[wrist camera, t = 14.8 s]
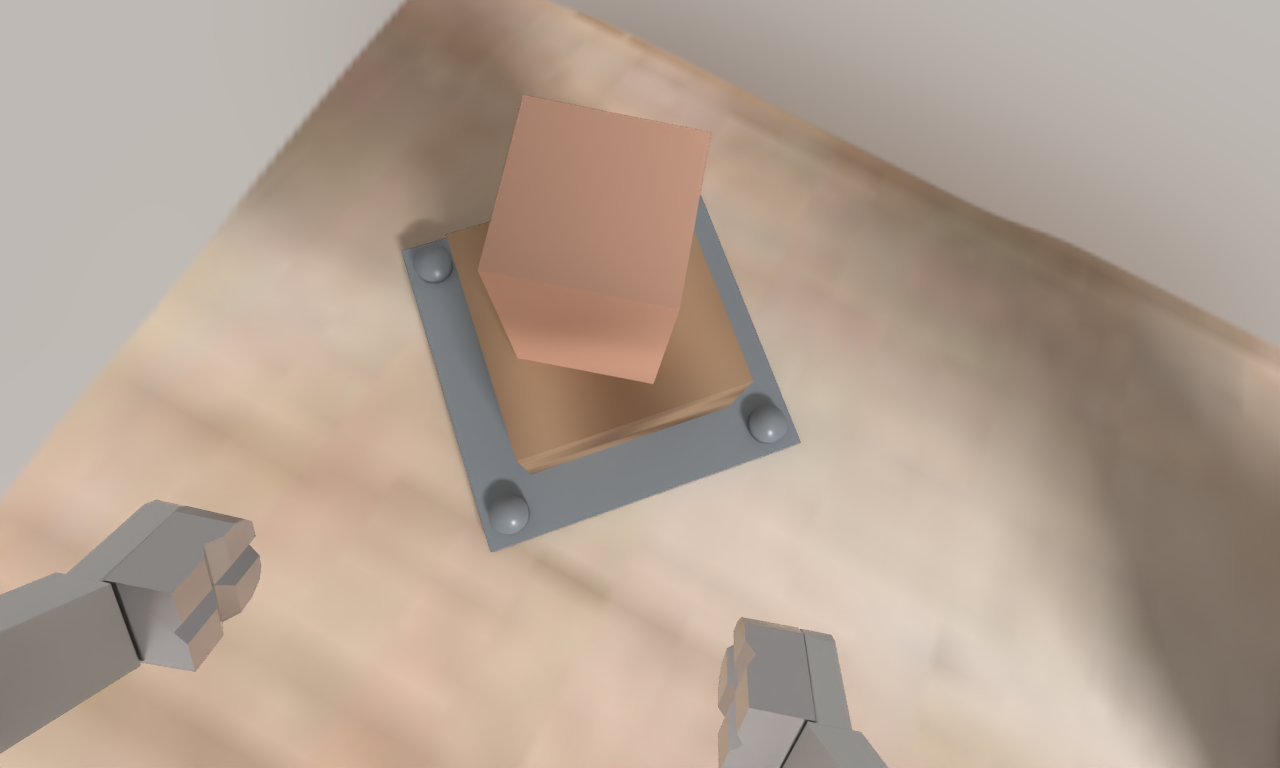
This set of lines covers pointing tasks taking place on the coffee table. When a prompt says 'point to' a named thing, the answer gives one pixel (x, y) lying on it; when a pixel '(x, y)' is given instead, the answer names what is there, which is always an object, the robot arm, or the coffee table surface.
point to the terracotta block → (593, 236)
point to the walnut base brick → (600, 404)
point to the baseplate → (608, 476)
